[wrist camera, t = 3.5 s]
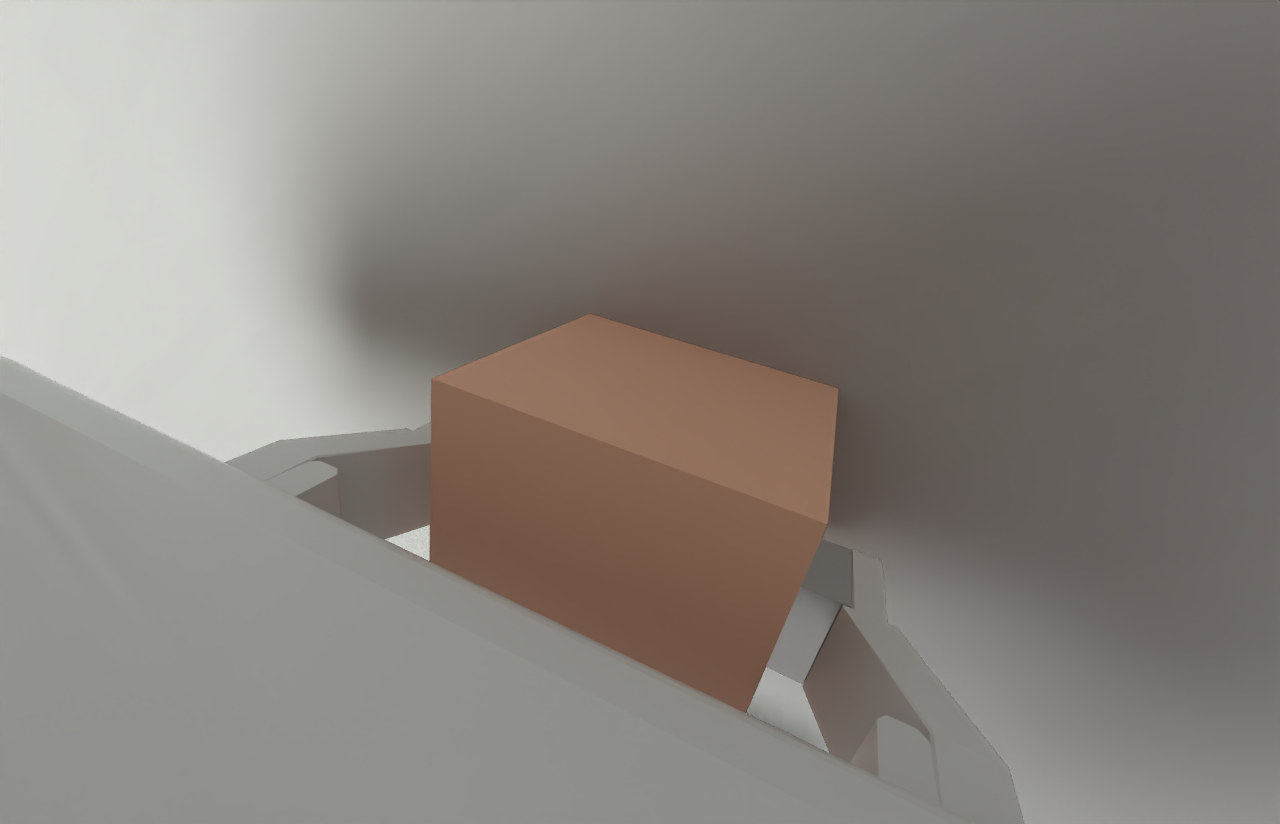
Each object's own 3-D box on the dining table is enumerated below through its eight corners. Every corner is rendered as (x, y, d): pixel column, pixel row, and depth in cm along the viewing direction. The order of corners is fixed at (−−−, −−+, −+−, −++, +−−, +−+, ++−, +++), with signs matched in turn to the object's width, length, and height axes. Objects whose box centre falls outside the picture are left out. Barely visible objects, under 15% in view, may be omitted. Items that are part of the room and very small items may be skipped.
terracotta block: (838, 387, 10) (827, 523, 6) (758, 592, 12) (709, 797, 8) (590, 313, 12) (431, 378, 7) (561, 510, 14) (428, 647, 10)
